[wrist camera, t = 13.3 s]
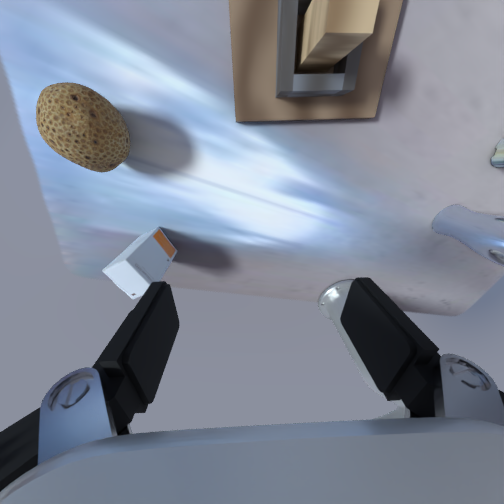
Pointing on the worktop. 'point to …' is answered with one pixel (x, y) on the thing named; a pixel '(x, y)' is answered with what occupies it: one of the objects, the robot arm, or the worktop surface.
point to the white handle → (499, 155)
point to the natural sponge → (82, 126)
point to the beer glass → (473, 230)
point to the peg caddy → (303, 83)
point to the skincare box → (142, 263)
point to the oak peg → (332, 32)
